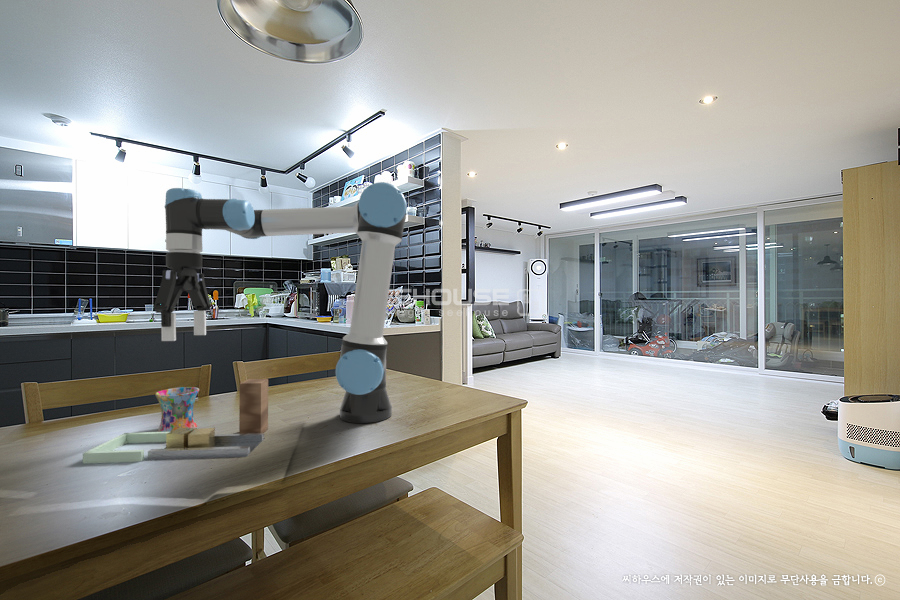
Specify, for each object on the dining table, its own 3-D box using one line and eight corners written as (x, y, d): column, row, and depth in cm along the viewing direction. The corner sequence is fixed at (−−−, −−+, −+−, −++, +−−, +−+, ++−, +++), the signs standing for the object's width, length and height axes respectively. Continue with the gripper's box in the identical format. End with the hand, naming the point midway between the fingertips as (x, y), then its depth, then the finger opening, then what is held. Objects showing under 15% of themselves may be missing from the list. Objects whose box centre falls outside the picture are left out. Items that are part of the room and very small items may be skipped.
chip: (196, 445, 89) (196, 428, 89) (183, 452, 85) (183, 434, 85) (180, 444, 89) (180, 427, 89) (166, 451, 86) (166, 433, 85)
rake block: (268, 433, 101) (268, 378, 100) (260, 440, 96) (261, 383, 95) (247, 433, 100) (247, 379, 100) (239, 440, 95) (239, 383, 95)
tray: (175, 444, 93) (175, 431, 93) (140, 465, 81) (141, 451, 81) (125, 445, 91) (125, 432, 91) (82, 468, 79) (82, 453, 79)
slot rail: (264, 442, 94) (264, 431, 94) (246, 461, 83) (246, 449, 83) (176, 444, 92) (176, 434, 92) (145, 464, 81) (145, 452, 81)
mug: (191, 436, 98) (191, 394, 97) (148, 440, 95) (148, 396, 95) (207, 421, 109) (207, 383, 109) (168, 424, 107) (168, 385, 106)
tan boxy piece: (214, 444, 90) (214, 427, 90) (208, 451, 86) (208, 433, 86) (195, 446, 89) (195, 428, 89) (188, 453, 85) (188, 434, 85)
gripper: (195, 257, 109) (196, 333, 109) (132, 246, 84) (134, 344, 85) (224, 257, 110) (224, 332, 110) (170, 246, 85) (171, 343, 85)
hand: (185, 337), depth 97 cm, fingers open, 13 cm apart
